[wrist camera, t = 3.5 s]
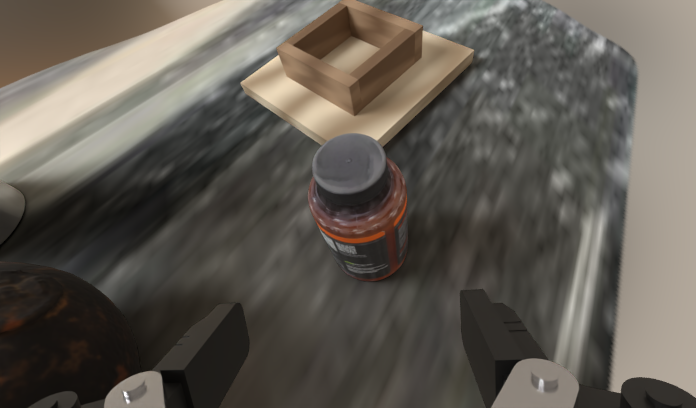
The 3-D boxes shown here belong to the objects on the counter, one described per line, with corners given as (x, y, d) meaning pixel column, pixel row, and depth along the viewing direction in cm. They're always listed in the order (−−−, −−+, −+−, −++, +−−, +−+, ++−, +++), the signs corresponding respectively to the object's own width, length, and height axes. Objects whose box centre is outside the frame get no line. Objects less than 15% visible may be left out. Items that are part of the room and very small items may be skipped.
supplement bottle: (395, 207, 29) (390, 106, 19) (418, 272, 25) (425, 191, 16) (327, 225, 29) (287, 134, 19) (341, 292, 25) (302, 223, 16)
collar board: (245, 93, 39) (226, 55, 35) (351, 14, 44) (345, -28, 40) (358, 170, 31) (350, 132, 27) (471, 62, 36) (480, 17, 32)
